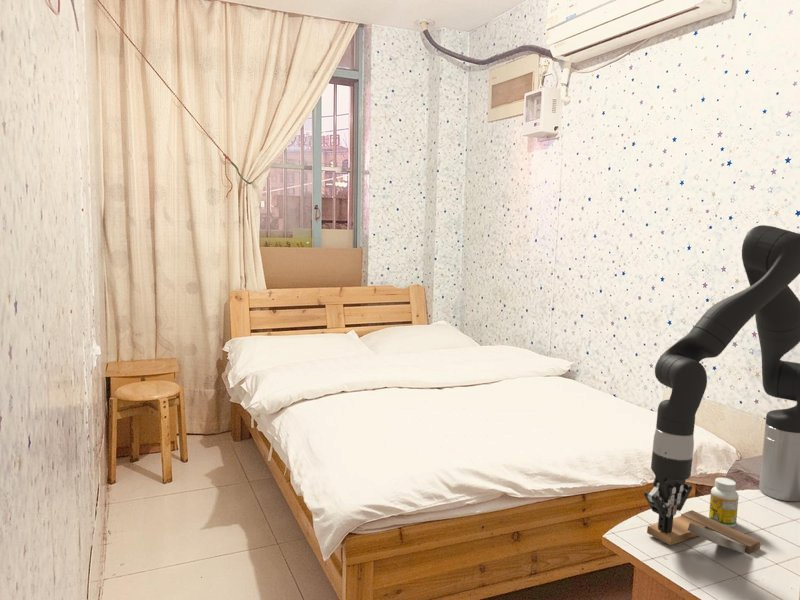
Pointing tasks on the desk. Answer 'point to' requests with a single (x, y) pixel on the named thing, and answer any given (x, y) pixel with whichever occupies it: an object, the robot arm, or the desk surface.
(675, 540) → the chestnut plank
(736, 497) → the supplement bottle
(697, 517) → the walnut panel
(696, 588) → the desk surface
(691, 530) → the grey ash plank
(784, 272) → the robot arm
